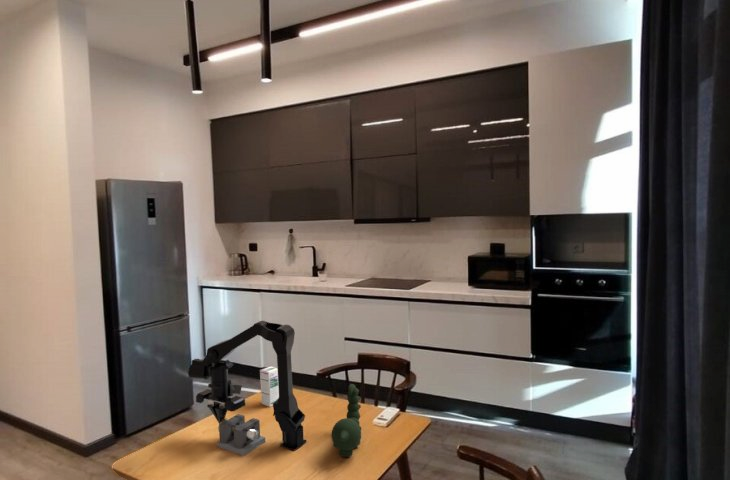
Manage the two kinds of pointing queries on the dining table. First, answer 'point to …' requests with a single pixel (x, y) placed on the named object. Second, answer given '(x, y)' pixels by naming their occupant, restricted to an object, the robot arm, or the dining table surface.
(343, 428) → the toy figurine
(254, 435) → the shaft
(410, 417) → the dining table surface
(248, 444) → the bearing bracket
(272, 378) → the syrup box
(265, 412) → the dining table surface
